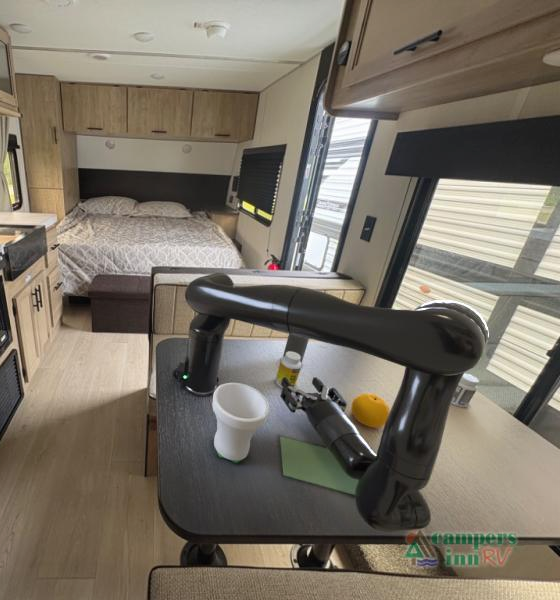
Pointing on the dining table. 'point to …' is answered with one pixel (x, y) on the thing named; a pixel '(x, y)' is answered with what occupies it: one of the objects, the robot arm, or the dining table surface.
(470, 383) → the pill bottle
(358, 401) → the orange fruit
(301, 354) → the bottle
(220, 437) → the cup
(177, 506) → the dining table surface
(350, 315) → the robot arm
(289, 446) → the cloth
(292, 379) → the supplement bottle
